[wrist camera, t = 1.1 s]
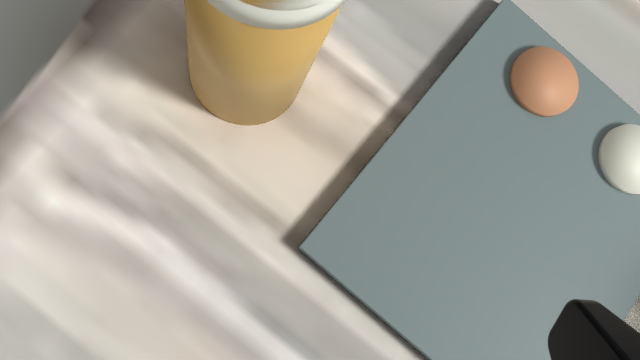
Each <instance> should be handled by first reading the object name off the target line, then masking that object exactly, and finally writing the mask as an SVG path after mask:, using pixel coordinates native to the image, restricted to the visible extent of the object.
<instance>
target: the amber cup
mask: <svg viewBox="0 0 640 360" xmlns="http://www.w3.org/2000/svg"><path fill="white" fill-rule="evenodd" d="M184 1H185V16H186V32H187V47H188V63H189V75H190V81H191V85H192V88H193V90H194V92H195V94H196V96H197V98H198V99H199V101H200V102H201V103H202V105H203V106H204V107H205V108H206V109H207V110H208V111H210V112H211V113H212V114H214V115H215V116H217V117H218V118H220V119H222V120H225V121H227V122H230V123H234V124H238V125H258V124H262V123H266V122H268V121H271V120H273V119H275V118H277V117H278V116H280V115H281V114H283V113H284V112H285V111H286V110H287V109H288V108H289V107H290V105H291V104H292V103H293V101H294V100H295V98H296V96H297V94H298V92H299V90H300V88H301V86H302V84H303V82H304V80H305V78H306V76H307V74H308V72H309V70H310V68H311V66H312V64H313V62H314V60H315V58H316V56H317V54H318V52H319V50H320V48H321V46H322V44H323V42H324V40H325V38H326V36H327V34H328V32H329V30H330V28H331V26H332V24H333V22H334V20H335V18H336V16H337V14H338V12H339V10H340V8H341V6H342V4H344V2H345V1H346V0H184Z"/></svg>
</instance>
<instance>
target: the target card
mask: <svg viewBox="0 0 640 360" xmlns="http://www.w3.org/2000/svg"><path fill="white" fill-rule="evenodd" d="M298 249H300V250H301V251H302V252H303V253H304V254H305V255H307V256H308V257H309V258H310V259H311V260H312V261H314V262H315V263H316V264H317V265H318V266H319V267H321V268H322V269H323V270H324V271H325V272H326V273H328V274H329V275H330V276H331V277H332V278H333V279H335V280H336V281H337V282H338V283H339V284H341V285H342V286H343V287H344V288H345V289H346V290H348V291H349V292H350V293H351V294H352V295H353V296H355V297H356V298H357V299H358V300H359V301H360V302H362V303H363V304H364V305H365V306H366V307H367V308H369V309H370V310H371V311H372V312H373V313H375V314H376V315H377V316H378V317H379V318H380V319H382V320H383V321H384V322H385V323H386V324H387V325H389V326H390V327H391V328H392V329H393V330H394V331H396V332H397V333H398V334H399V335H400V336H401V337H403V338H404V339H405V340H406V341H407V342H408V343H410V344H411V345H412V346H413V347H414V348H416V349H417V350H418V351H419V352H420V353H421V354H423V355H424V356H425V357H426V358H427V359H428V360H551V358H550V354H549V350H548V335H549V332H550V330H551V328H552V327H553V325H554V323H555V322H556V320H557V318H558V316H559V315H560V313H561V311H562V310H563V308H564V306H565V305H566V303H567V302H569V301H570V300H572V299H584V300H594V301H597V302H599V303H601V304H602V305H603V306H605V307H606V308H607V309H609V310H610V311H611V312H612V313H614V314H615V315H616V316H618V317H619V318H620V319H622V320H623V321H624V319H625V318H626V316H627V314H628V313H629V311H630V310H631V308H632V306H633V305H634V303H635V302H636V300H637V298H638V297H639V295H640V115H639V114H638V113H637V112H636V111H635V110H634V109H632V108H631V107H630V106H629V105H628V104H627V103H626V102H625V101H623V100H622V99H621V98H620V97H619V96H618V95H617V94H616V93H614V92H613V91H612V90H611V89H610V88H609V87H608V86H606V85H605V84H604V83H603V82H602V81H601V80H600V79H599V78H597V77H596V76H595V75H594V74H593V73H592V72H591V71H590V70H588V69H587V68H586V67H585V66H584V65H583V64H582V63H581V62H579V61H578V60H577V59H576V58H575V57H574V56H573V55H572V54H570V53H569V52H568V51H567V50H566V49H565V48H564V47H563V46H561V45H560V44H559V43H558V42H557V41H556V40H555V39H554V38H552V37H551V36H550V35H549V34H548V33H547V32H546V31H545V30H543V29H542V28H541V27H540V26H539V25H538V24H537V23H535V22H534V21H533V20H532V19H531V18H530V17H529V16H528V15H526V14H525V13H524V12H523V11H522V10H521V9H520V8H519V7H517V6H516V5H515V4H514V3H513V2H512V1H511V0H502V1H501V2H500V3H499V4H498V6H497V7H496V8H495V9H494V10H493V12H492V13H491V14H490V15H489V17H488V18H487V19H486V20H485V21H484V23H483V24H482V25H481V26H480V27H479V29H478V30H477V31H476V32H475V33H474V35H473V36H472V37H471V38H470V40H469V41H468V42H467V43H466V44H465V46H464V47H463V48H462V49H461V50H460V52H459V53H458V54H457V55H456V57H455V58H454V59H453V60H452V61H451V63H450V64H449V65H448V66H447V67H446V69H445V70H444V71H443V72H442V73H441V75H440V76H439V77H438V78H437V80H436V81H435V82H434V83H433V84H432V86H431V87H430V88H429V89H428V90H427V92H426V93H425V94H424V95H423V97H422V98H421V99H420V100H419V101H418V103H417V104H416V105H415V106H414V107H413V109H412V110H411V111H410V112H409V113H408V115H407V116H406V117H405V118H404V120H403V121H402V122H401V123H400V124H399V126H398V127H397V128H396V129H395V130H394V132H393V133H392V134H391V135H390V137H389V138H388V139H387V140H386V141H385V143H384V144H383V145H382V146H381V147H380V149H379V150H378V151H377V152H376V153H375V155H374V156H373V157H372V158H371V160H370V161H369V162H368V163H367V164H366V166H365V167H364V168H363V169H362V170H361V172H360V173H359V174H358V175H357V177H356V178H355V179H354V180H353V181H352V183H351V184H350V185H349V186H348V187H347V189H346V190H345V191H344V192H343V193H342V195H341V196H340V197H339V198H338V200H337V201H336V202H335V203H334V204H333V206H332V207H331V208H330V209H329V210H328V212H327V213H326V214H325V215H324V217H323V218H322V219H321V220H320V221H319V223H318V224H317V225H316V226H315V227H314V229H313V230H312V231H311V232H310V233H309V235H308V236H307V237H306V238H305V240H304V241H303V242H302V243H301V244H300V246H299V247H298Z"/></svg>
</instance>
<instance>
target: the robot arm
mask: <svg viewBox="0 0 640 360" xmlns="http://www.w3.org/2000/svg"><path fill="white" fill-rule="evenodd" d="M548 350H549V354H550V358H551V360H640V333H638V332H637V331H636V330H634V329H633V328H632V327H631V326H629V325H628V324H627V323H625V322H624V321H623V320H622V319H620V318H619V317H618V316H616V315H615V314H614V313H612V312H611V311H610V310H609V309H607V308H606V307H605V306H603V305H602V304H601V303H599V302H597V301H594V300H584V299H572V300H570V301H569V302H567V303H566V305H565V306H564V308H563V310H562V311H561V313H560V315H559V316H558V318H557V320H556V322H555V323H554V325H553V327H552V328H551V330H550V332H549V335H548Z"/></svg>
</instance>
